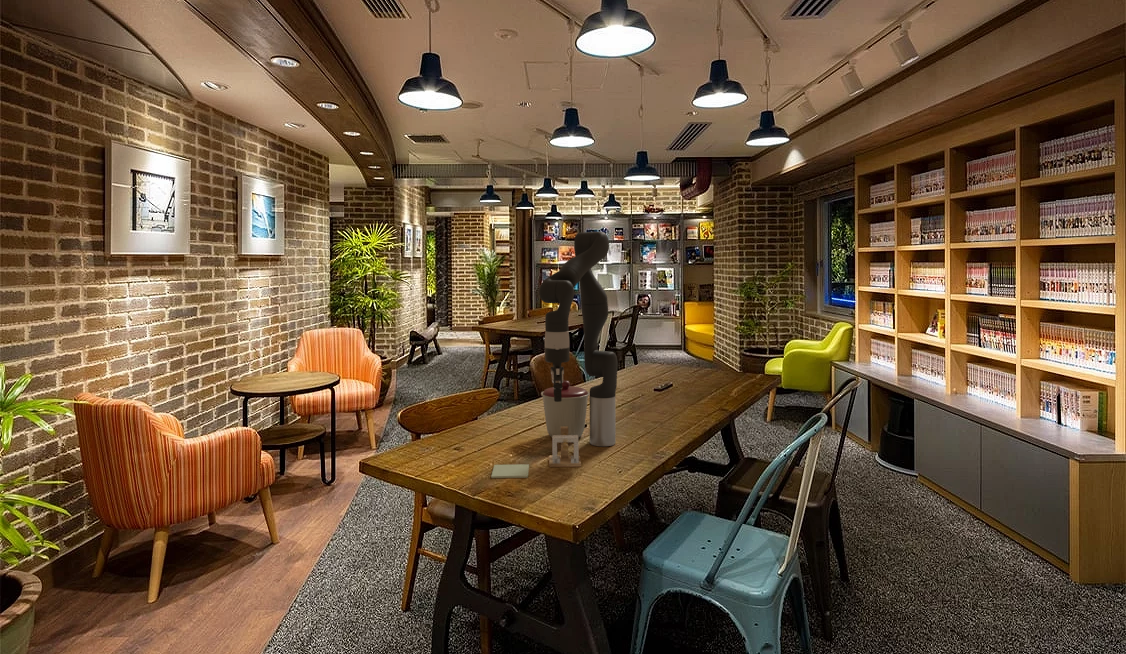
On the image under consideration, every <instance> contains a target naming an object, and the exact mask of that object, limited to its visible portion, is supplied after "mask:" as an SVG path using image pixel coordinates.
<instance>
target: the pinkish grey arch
mask: <svg viewBox="0 0 1126 654" xmlns="http://www.w3.org/2000/svg"><path fill="white" fill-rule="evenodd" d="M551 438H552V441H551V442H552V451H551V452H552V455H553V463H560V456H557V455H558V443H561V442H568V443H573V455H574V456H571V463H579V455H580V454H579V448H580V447H579V444H580V443H579V437H578V435H552V437H551Z"/></svg>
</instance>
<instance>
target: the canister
mask: <svg viewBox="0 0 1126 654" xmlns="http://www.w3.org/2000/svg"><path fill="white" fill-rule="evenodd" d="M562 386H563V387H562V389H561V391H562V401H561V402H555V401H554V388H553V386H552V387H549V388H545V389H544V391H541V393H540V396H541V397H542V402H543V410H544V418H545V425H546V431H547V434H548V435H549V437H551V438H552V435H561V427H568V435H578V438H580V437H582V436H583V434H584V431H585V427H586V426H585V425H586V418H587V417H586V416H587V408H588V398H589V397H590V391H588V390H587V389H586V388H583V387H579V386H574V385H573V386H572V385H571V383H570V381H569V380H563V383H562Z"/></svg>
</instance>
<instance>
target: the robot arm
mask: <svg viewBox="0 0 1126 654" xmlns="http://www.w3.org/2000/svg"><path fill="white" fill-rule="evenodd" d="M573 241H574V242H573V249H574V256H573V257H572V258H570V259H569V260H567V261H566V262H564V263H563V265H562V266H561V268H560V269H559V270H558V271H557V272H555V273H553V274H551V275H549V276H548V277H546V278H545V279H544V280H543V281H542V282H541V283H540V285H539V289H538V296H539V299H540V300H541V301H542V303H543V302H544V303H546V304H559V305H558V308H557V309H556V310H553V311H548V312H546V314H545V318H544V320H545V321H544V322H545V325H544V327H545V328H544V329H545V332H544V333H545V334H544V361H545V362H546V363H551V364H552V366H550V374H551V382H552V384H553V386H552V387H553V388H554V401H555V402H561V401H562V391H561V389H562V387H563V386H562V383H563V381H564V375H565V367H564V366H562V364H563V363H568V362H569V361H570V359H571V358H570V356H571V355H570V334H569V333H570V332H569V317H570V316H569V315H570V312H571V309H572V303H573V300H574V298H575V297H574V296H575V287H576V286H577V285H578V284H579V290H580V291H579V292H580V308H581V316H582V324H583V327H582V328H583V338H584V339H583V341H584V342H583V344H584V345H583V347H584V349H583V351H584V352H583V354H584V369H585V372H586V374H587V375H588V376H590V377H597V378H602V382H601V383H600V384H597V385H594V386H591V387H590V388H589V393H590V394H589V444H590V445H592V446H595V447H596V446H597V447H609V446H611V447H612V446H614V445H615V444H616V392H617V386H618V369H619V368H618V365H619V364H618V356H617V355H616V353H615V352H613V351H609V350H608V351H605V350H599V348H598V340H599V339H598V338H599V335H600V333H601V331H602V329H603V327H604V326H605V324H606V322H607V320H608V317H609V303H608V295H607V293H606V291H605V289H604V288H603V287H602V285H601V284H600V282H599V281H598V279H597V278H596V277H595V274H594V273H593V271H592V268H593V267H594V266H596V265H597V264H598V263H599V262H601V261H602V260H604V258H605V257H606V256H607V255H608V253H609V251H610V249H609V248H610V241H609V237H608V235H607V234H606V233H605V232H603V231H582V232H577V233H576V235H575V237H574V240H573Z"/></svg>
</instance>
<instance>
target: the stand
mask: <svg viewBox="0 0 1126 654" xmlns="http://www.w3.org/2000/svg"><path fill="white" fill-rule="evenodd" d="M561 435H568V427H561ZM569 448H570V447H569V442H560V454H557V456H560V463H553V455H549V457H548V458H549V464H548V465H549V468H555V467H557V468H559V467H560V468H561V467H562V468H564V467H567V468H569V467H571V468H572V467H573V468H574V467H575V468H576V467H577V468H578V467H582V462H581V461H582V460H581V456H580V454H579V463H571V456H574V454H569Z"/></svg>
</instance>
